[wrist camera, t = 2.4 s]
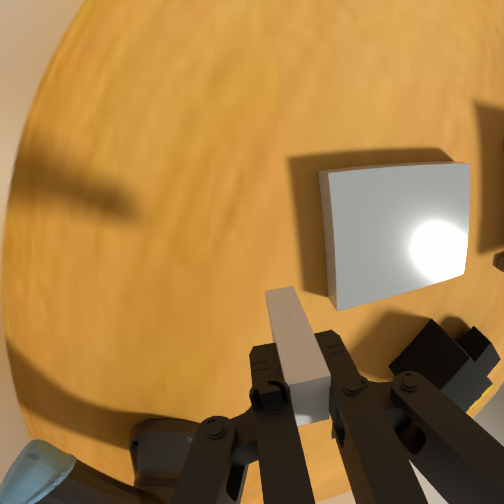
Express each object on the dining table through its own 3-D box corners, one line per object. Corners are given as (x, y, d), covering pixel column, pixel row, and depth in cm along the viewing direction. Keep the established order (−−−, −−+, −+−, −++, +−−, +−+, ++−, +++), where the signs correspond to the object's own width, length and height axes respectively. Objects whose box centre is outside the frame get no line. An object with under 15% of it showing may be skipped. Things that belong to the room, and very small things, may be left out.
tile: (326, 295, 27) (336, 311, 24) (316, 170, 23) (328, 173, 20) (447, 263, 27) (463, 273, 25) (450, 160, 23) (469, 163, 20)
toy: (456, 434, 35) (393, 435, 24) (437, 407, 42) (365, 386, 32) (511, 376, 31) (491, 334, 20) (488, 351, 39) (447, 296, 28)
